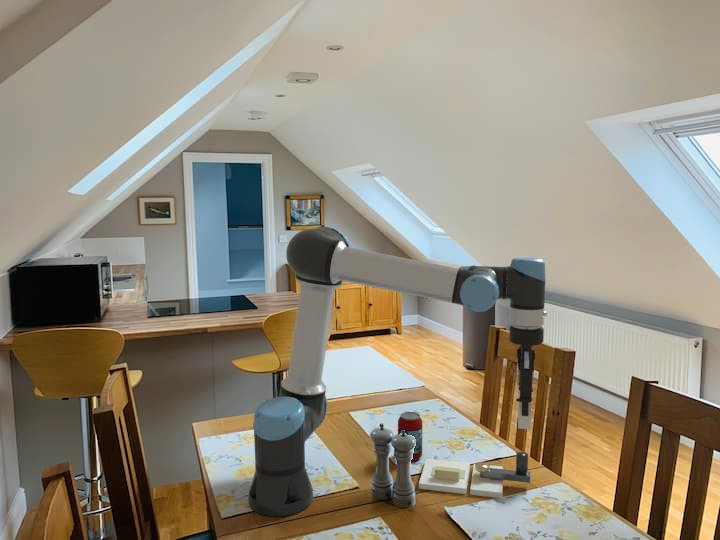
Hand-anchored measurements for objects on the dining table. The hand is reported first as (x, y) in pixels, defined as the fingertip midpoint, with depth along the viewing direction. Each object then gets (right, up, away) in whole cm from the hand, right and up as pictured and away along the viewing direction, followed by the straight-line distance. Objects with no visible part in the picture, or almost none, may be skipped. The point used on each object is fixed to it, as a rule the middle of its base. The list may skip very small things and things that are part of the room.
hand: (523, 423), depth 134 cm
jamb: (-6, -18, +10) cm, 21 cm away
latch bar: (-3, -16, +9) cm, 19 cm away
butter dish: (-16, -17, +13) cm, 27 cm away
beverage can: (-24, -16, +25) cm, 39 cm away
